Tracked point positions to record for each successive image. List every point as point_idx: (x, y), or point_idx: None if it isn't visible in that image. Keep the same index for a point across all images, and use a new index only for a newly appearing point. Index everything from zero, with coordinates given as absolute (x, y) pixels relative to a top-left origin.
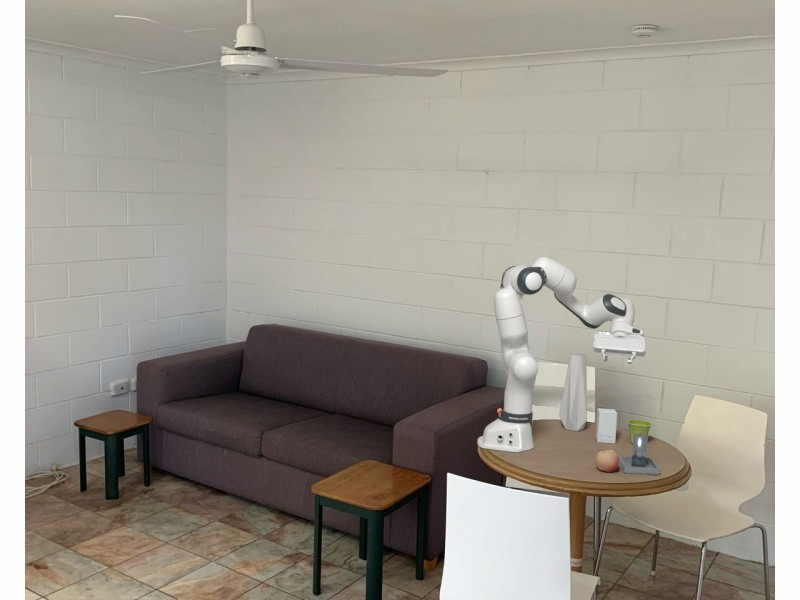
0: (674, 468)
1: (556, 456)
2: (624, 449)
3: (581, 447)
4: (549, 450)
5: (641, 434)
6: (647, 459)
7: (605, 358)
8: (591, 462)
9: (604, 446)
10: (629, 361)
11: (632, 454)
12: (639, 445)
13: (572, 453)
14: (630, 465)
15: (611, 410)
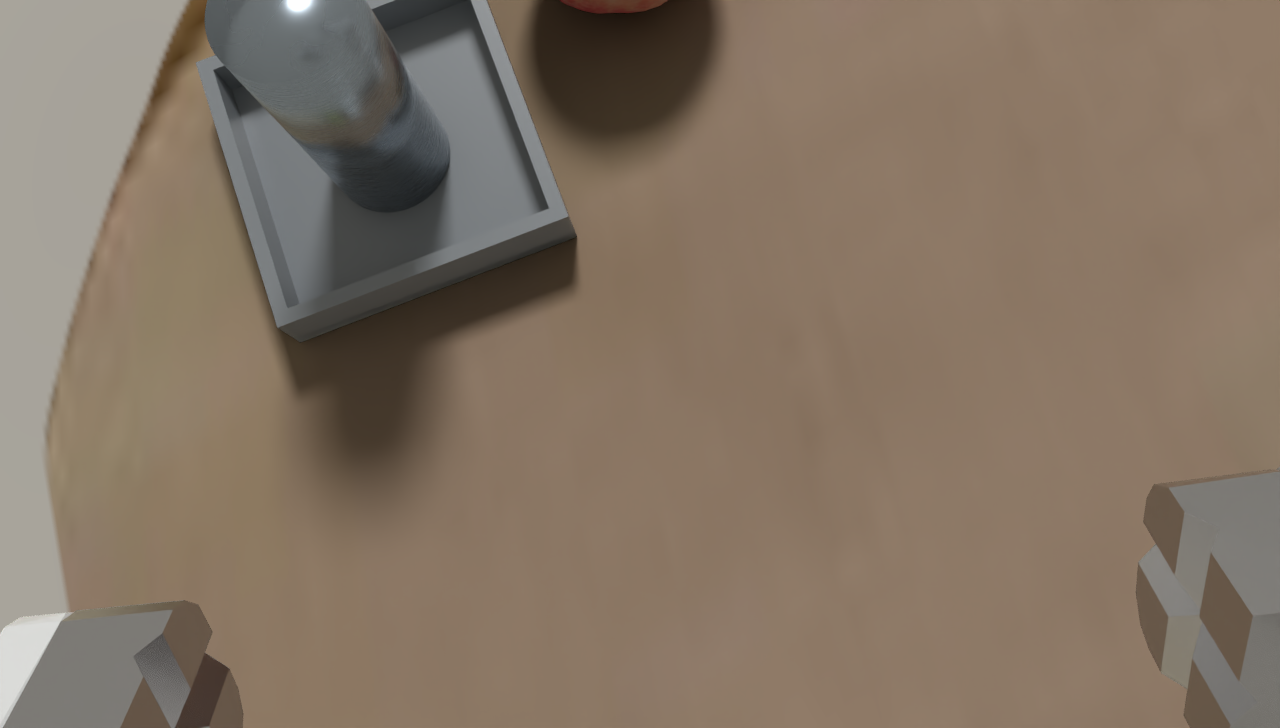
0: (114, 348)
1: (1117, 86)
2: (604, 680)
3: (1008, 495)
4: (1246, 218)
5: (277, 53)
6: (322, 299)
7: (1249, 478)
8: (789, 102)
9: (811, 669)
10: (127, 612)
11: (412, 76)
12: None
13: (1021, 253)
14: (458, 163)
15: None
